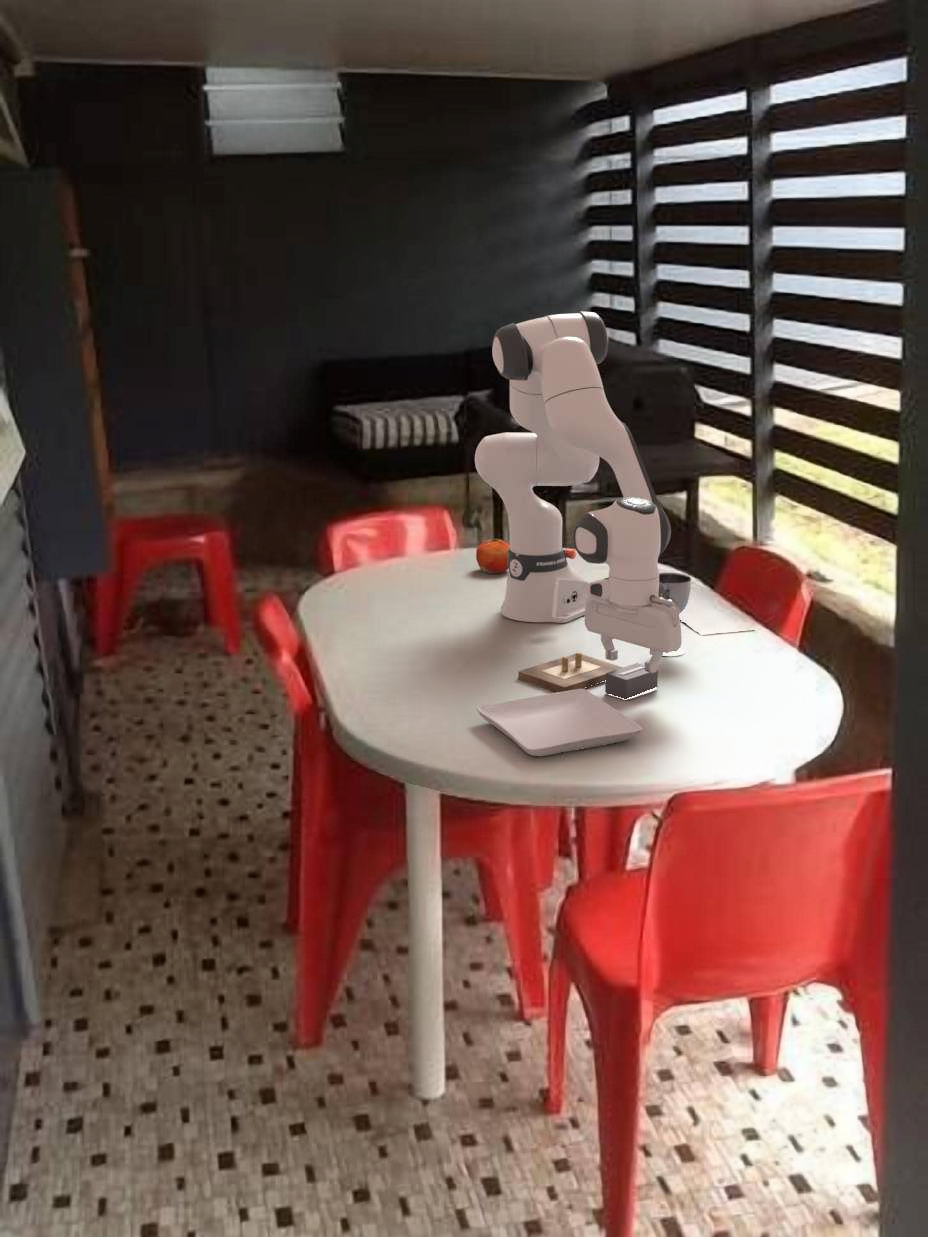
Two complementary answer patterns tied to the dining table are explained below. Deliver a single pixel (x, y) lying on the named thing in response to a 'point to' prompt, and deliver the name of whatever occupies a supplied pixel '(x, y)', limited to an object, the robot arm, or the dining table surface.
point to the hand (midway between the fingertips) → (631, 665)
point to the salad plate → (559, 722)
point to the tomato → (493, 556)
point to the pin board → (568, 673)
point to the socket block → (630, 681)
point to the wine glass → (675, 588)
